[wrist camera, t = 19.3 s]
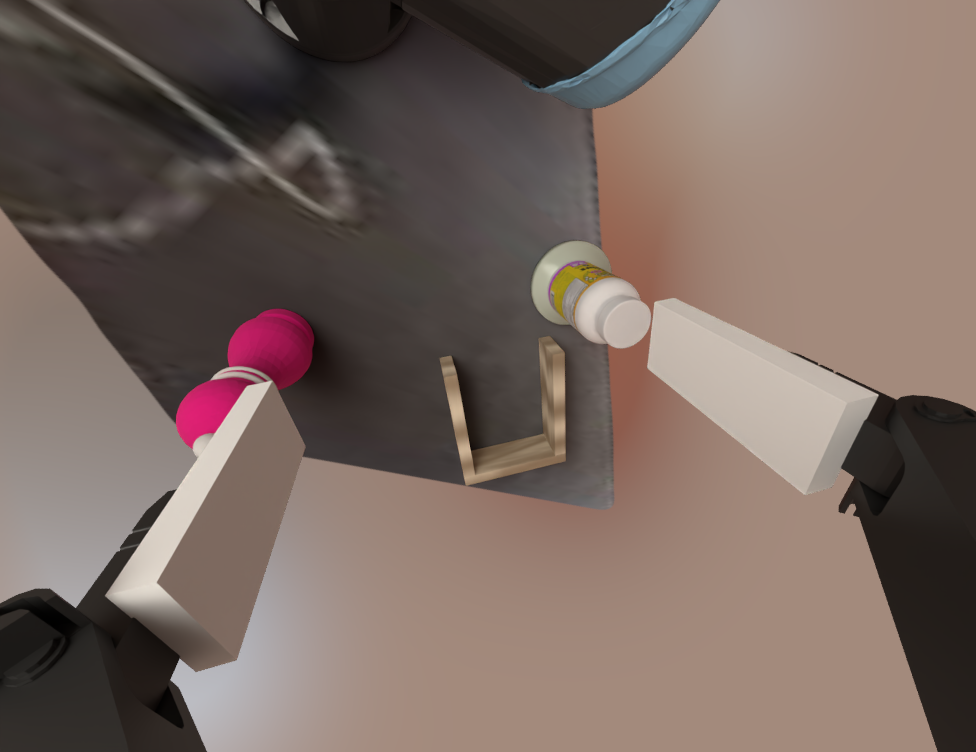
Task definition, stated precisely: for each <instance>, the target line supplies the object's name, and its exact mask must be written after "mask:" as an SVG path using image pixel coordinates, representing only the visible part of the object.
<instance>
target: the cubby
mask: <svg viewBox="0 0 976 752" xmlns="http://www.w3.org/2000/svg"><path fill="white" fill-rule="evenodd" d="M539 354H540V375H541V396H542V417H543V434H540V435H536V436H532V437H528V438H523V439H519V440H515V441H511V442H506V443H502V444H498V445H494V446H489V447H485V448H481V449H477V450H472V451H471V449H470V444H469V438H468V433H467V427H466V422H465V416H464V411H463V405H462V400H461V394H460V389H459V383H458V378H457V373H456V370H455V366H454V363H453V360H452V356H447V357H442V358H440V363H441V368H442V373H443V377H444V382H445V387H446V392H447V397H448V402H449V407H450V412H451V416H452V421H453V426H454V431H455V436H456V441H457V446H458V451H459V456H460V460H461V465H462V470H463V474H464V479H465V483H466V486H467V485H471V484H475V483H479V482H483V481H487V480H491V479H495V478H499V477H503V476H507V475H511V474H515V473H519V472H524V471H528V470H532V469H536V468H540V467H544V466H548V465H552V464H556V463H560V462H564V461H566V448H565V352H564V351H563V350H562V349H561V348H560V347H559V346H558V344H557V343H556V342H555V341H554V340H553V339H552V338H551V337H550V336H547V337H542V338H539Z"/></svg>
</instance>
